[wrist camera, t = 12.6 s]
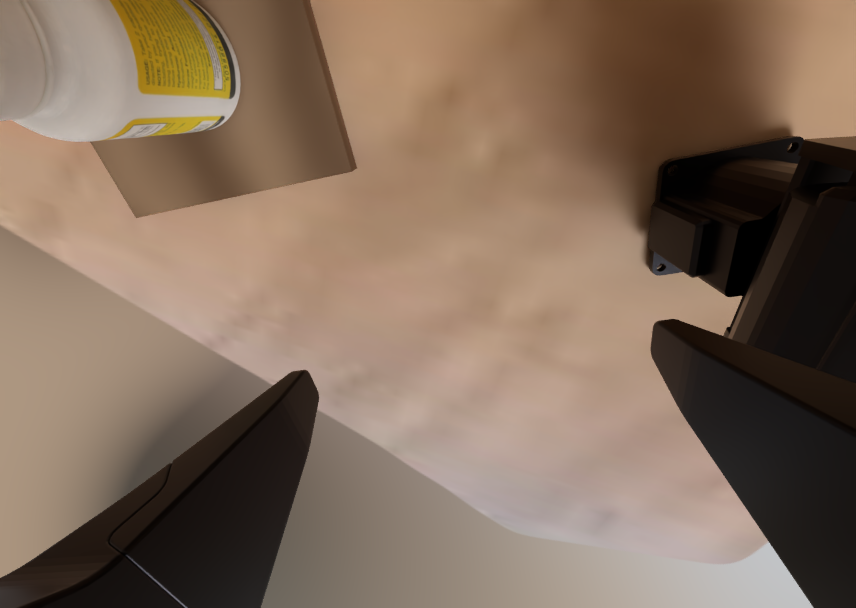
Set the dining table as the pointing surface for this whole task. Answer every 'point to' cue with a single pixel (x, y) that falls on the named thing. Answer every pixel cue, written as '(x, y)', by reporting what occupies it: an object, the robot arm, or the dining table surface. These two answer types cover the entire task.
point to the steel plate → (245, 119)
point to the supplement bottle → (114, 68)
